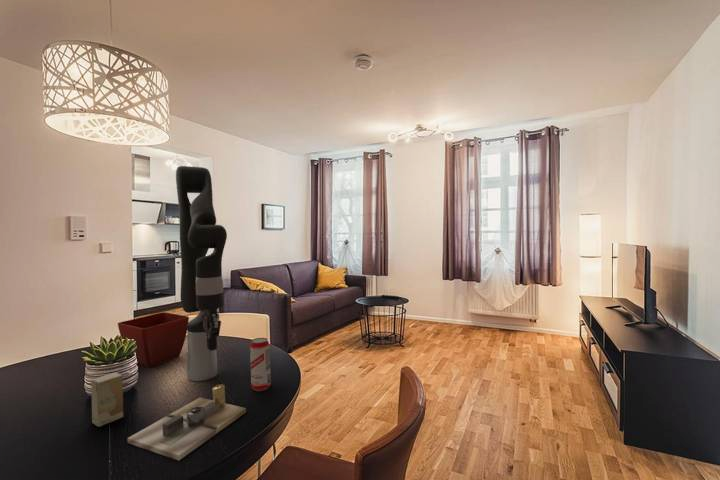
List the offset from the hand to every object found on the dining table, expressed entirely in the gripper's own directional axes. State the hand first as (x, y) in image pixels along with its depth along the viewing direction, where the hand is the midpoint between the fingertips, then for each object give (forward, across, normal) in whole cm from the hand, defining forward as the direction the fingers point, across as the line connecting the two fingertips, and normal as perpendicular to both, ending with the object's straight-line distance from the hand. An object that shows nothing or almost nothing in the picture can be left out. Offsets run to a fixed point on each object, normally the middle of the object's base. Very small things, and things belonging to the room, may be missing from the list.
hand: (212, 348), depth 103 cm
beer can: (+17, +2, -15) cm, 23 cm away
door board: (+17, -8, +8) cm, 21 cm away
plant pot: (+17, +54, +9) cm, 58 cm away
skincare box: (+17, +10, +26) cm, 33 cm away
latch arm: (+15, -8, +4) cm, 17 cm away
